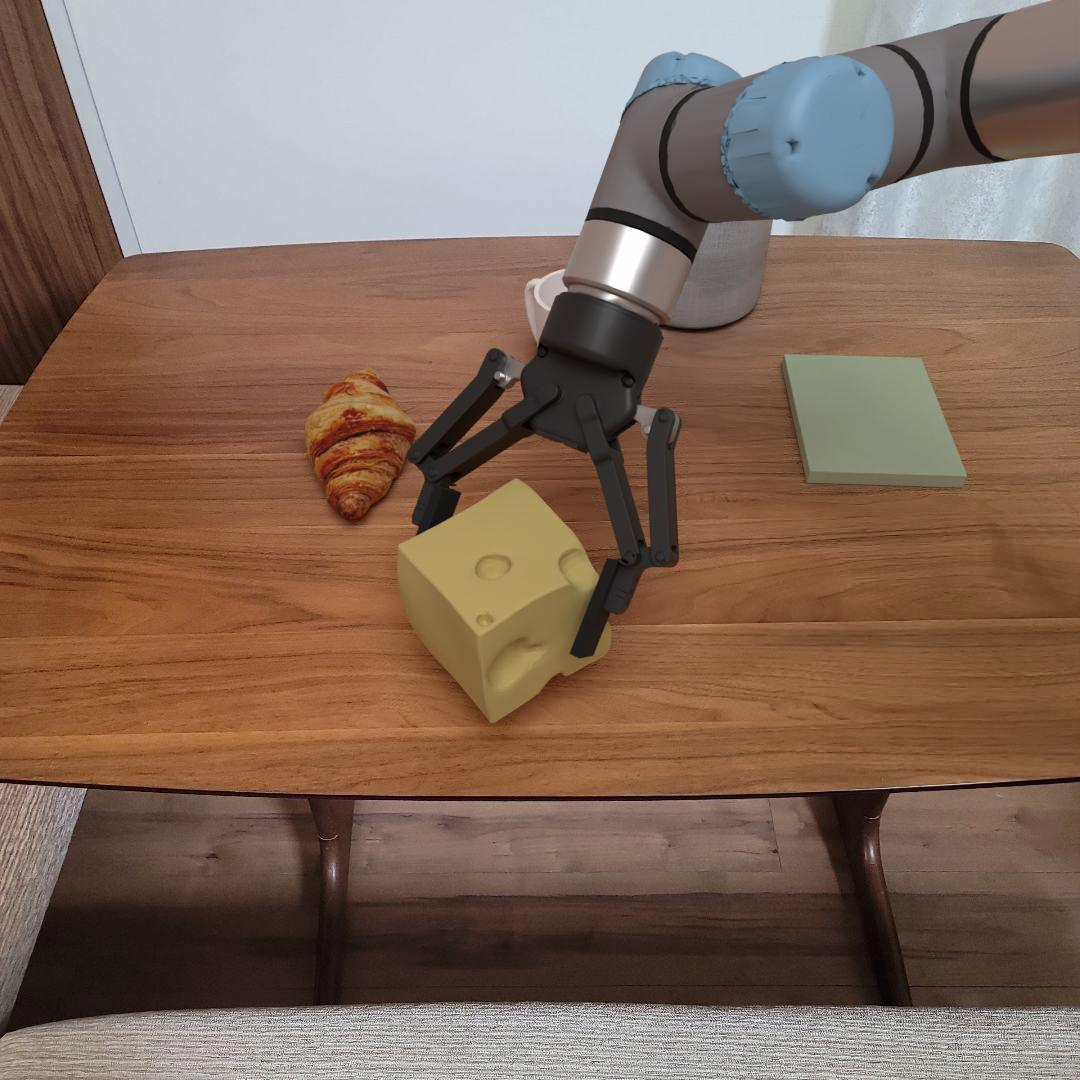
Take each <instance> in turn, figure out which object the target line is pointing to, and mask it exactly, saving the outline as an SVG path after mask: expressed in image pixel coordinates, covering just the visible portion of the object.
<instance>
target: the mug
mask: <svg viewBox="0 0 1080 1080" xmlns="http://www.w3.org/2000/svg"><path fill="white" fill-rule="evenodd" d="M565 269H566V268H562V269H559V270H556V271H551V272H550V273H549V274H546V275H544V276H543V277H541V278H539V277H538V278H537V277H535V278H532V279H530V280H528V281H527V283H526V285H525V288H524V290H523V293H524V306H525V311H526V315H527V316H526V317H527V320H528V323H529V326H530V329H531V332H532V335H533V338H534V340H535V342H536V347H537V348H538V343H539V339H540V336H541V333H542V331H543V328H544V325H545V323H546V320H547V317H548V315H549V312H550V310H551V307H552V304H553V302H554V299H555V296H556V295H560V293H561V292H567V291H568V289H567V288H566V287H565V286H564V283H563V281H562V277H563V274H564V272H565ZM537 348H536V349H537Z"/></svg>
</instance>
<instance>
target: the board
mask: <svg viewBox="0 0 1080 1080" xmlns="http://www.w3.org/2000/svg"><path fill="white" fill-rule="evenodd" d="M781 369H782V375H783V379H784V384H785V388H786V394H787V397H788V402H789V407H790V411H791V417H792V421H793V426H794V430H795V435H796V439H797V445H798V450H799V454H800V458H801V462H802V467H803V473H804V477H805V481H806V483H807V484H829V485H830V484H833V485H860V486H861V485H862V486H863V485H865V486H890V487H891V486H892V487H893V486H895V487H921V488H922V487H924V488H955V489H957V488H958V489H962V488H963V487H964V484H965V483H966V481H967V478H968V474H967V471H966V469H965V466H964V464H963V461H962V459H961V456H960V453H959V451H958V448H957V445H956V443H955V441H954V438H953V436H952V432H951V431H950V428H949V425H948V422H947V420H946V418H945V415H944V413H943V410H942V408H941V405H940V403H939V400H938V397H937V395H936V393H935V390H934V387H933V384H932V381H931V380H930V376H929V374H928V372H927V369H926V367H925V364H924V361H923V359H922V357H914V356H913V357H912V356H910V357H908V356H878V355H877V356H876V355H875V356H873V355H838V354H837V355H835V354H834V355H832V354H798V353H784V354H783V356H782V361H781Z"/></svg>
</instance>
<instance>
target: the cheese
mask: <svg viewBox="0 0 1080 1080" xmlns="http://www.w3.org/2000/svg"><path fill="white" fill-rule="evenodd" d="M396 550H397V551H396V580H397V586H398V590H399V594H400V599H401V603H402V607H403V609H404V613H405V615H406V617H407V618H406V619H407V620H408V622H409V625H410V626H411V628H412V630H413V631H414V633H415V635H416V637H417V638H418V639H419V641H420V642H421V643H422V644H423V646H424V647H425V648H426V649H427V650H428V652H429V653H430V654H431V655H432V657H434V659H435V660H436V661H437V662H438V664H440V665H441V667H443V668H444V669H445V671H447V673H449V675H450V676H451V677H452V678H453V679H454V680H455V681H456V683H458V684H459V686H460V687H461V688H462V689H463V691H464V692H465V693H466V694H467V695H468V697H469V698H470V699H471V700H472V701H473V703H474V704H475V705H476V706H477V708H478V709H479V711H480V712H481V713H482V714H483V716H484V717H485V718H486V720H488V722H489V723H490V724H494V723H497V722H499V720H501V719H504V717H506V716H507V715H509V714H511V713H512V712H514V711H515V710H517V709H519V708H520V707H521V706H523V705H525V704H526V703H527V702H529V701H531V700H532V699H533V698H535V697H536V696H537V695H539V694H540V693H541V691H542V690H543V689H544V688H545V687H546V685H547V684H548V682H549V681H550V680H551V679H552V678H553V677H554V676H556V675H558V674H561V675H562V676H564V677H567V676H570V675H572V674H574V673H576V672H578V671H580V670H582V669H583V668H585V667H587V666H588V665H590V664H592V663H594V662H596V661H598V660H600V659H601V658H603V657H604V656H606V655H608V653H609V651H610V648H611V645H612V639H613V637H612V628H611V624H610V623H609V621H608V620H607V623H606V625H605V628H604V630H603V633H602V635H601V638H600V640H599V643H598V645H597V648H596V650H595V653H594V655H593V656H590V657H585V658H580V659H579V658H577V657H575V656H573V655H571V654H569V653H570V651H571V648H572V646H573V643H574V641H575V638H576V635H577V633H578V630H579V628H580V625H581V623H582V620H583V618H584V615H585V613H586V610H587V608H588V605H589V603H590V600H591V598H592V595H593V592H594V590H595V587H596V585H597V582H598V580H599V577H600V574H599V573H598V572H597V571H596V570H595V568H594V567H593V565H592V563H591V560H590V559H589V556H588V554H587V552H586V550H585V548H584V546H583V544H582V543H581V541H580V539H579V538H578V536H577V535H576V534H575V532H574V531H573V530H572V529H571V528H570V527H569V526H568V525H567V524H566V523H565V522H564V521H563V520H562V519H561V518H560V517H559V516H558V515H557V514H556V512H555V511H554V510H553V509H552V508H551V507H550V506H549V505H548V504H547V502H545V501H544V499H543V498H542V497H541V496H540V495H539V494H538V493H537V492H536V491H535V490H534V489H533V488H532V487H531V486H529V485H528V484H526V483H525V482H524V481H522V480H521V479H519V478H518V477H517V478H513V479H511V480H510V481H508V482H507V483H505V484H503V485H502V486H500V487H499V488H497V489H496V490H493V492H492V493H490V494H488V495H487V496H486V497H484V498H483V499H480V501H478V502H476V503H474V504H472V505H471V506H469V507H467V508H465V509H464V510H462V511H460V512H458V513H456V514H455V515H453V517H451V518H449V519H447V520H446V521H444V522H442V523H440V524H438V525H437V526H435V527H433V528H431V529H429V530H427V531H425V532H423V533H421V534H419V535H417V536H416V535H415V536H413V537H411V538H408V539H407V540H405V541H402V542H401V543H399V544H397V549H396Z"/></svg>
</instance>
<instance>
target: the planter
mask: <svg viewBox="0 0 1080 1080" xmlns="http://www.w3.org/2000/svg"><path fill="white" fill-rule="evenodd" d="M773 224H774V220H753V221H732V222H722V223H709V225H708V227H707V229H706V232H705V234H704V237H703V239H702V241H701V244H700V246H699V249H698V251H697V254H696V256H695V259H694V262H693V265H692V267H691V270H690V272H689V275H688V277H687V280H686V282H685V285H684V287H683V290H682V292H681V295H680V297H679V300H678V302H677V305H676V307H675V310H674V312H673V315H672V317H671V320H670V322H667V323H664V324H661V326H666V327H670V328H674V329H682V330H685V329H686V330H704V329H713V328H718V327H720V326H725V325H728V324H730V323H733V322H736V321H737V320H740V319H742V318H743V317H744V316H746V315H748V314H749V313H750V312H751V311H752V310H753V309H754V308H755V306H756V305H757V303H758V301H759V298H760V296H761V292H762V286H763V281H764V280H763V279H764V276H765V269H766V265H767V258H768V252H769V246H770V240H771V234H772V230H773V229H772V228H773Z"/></svg>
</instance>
